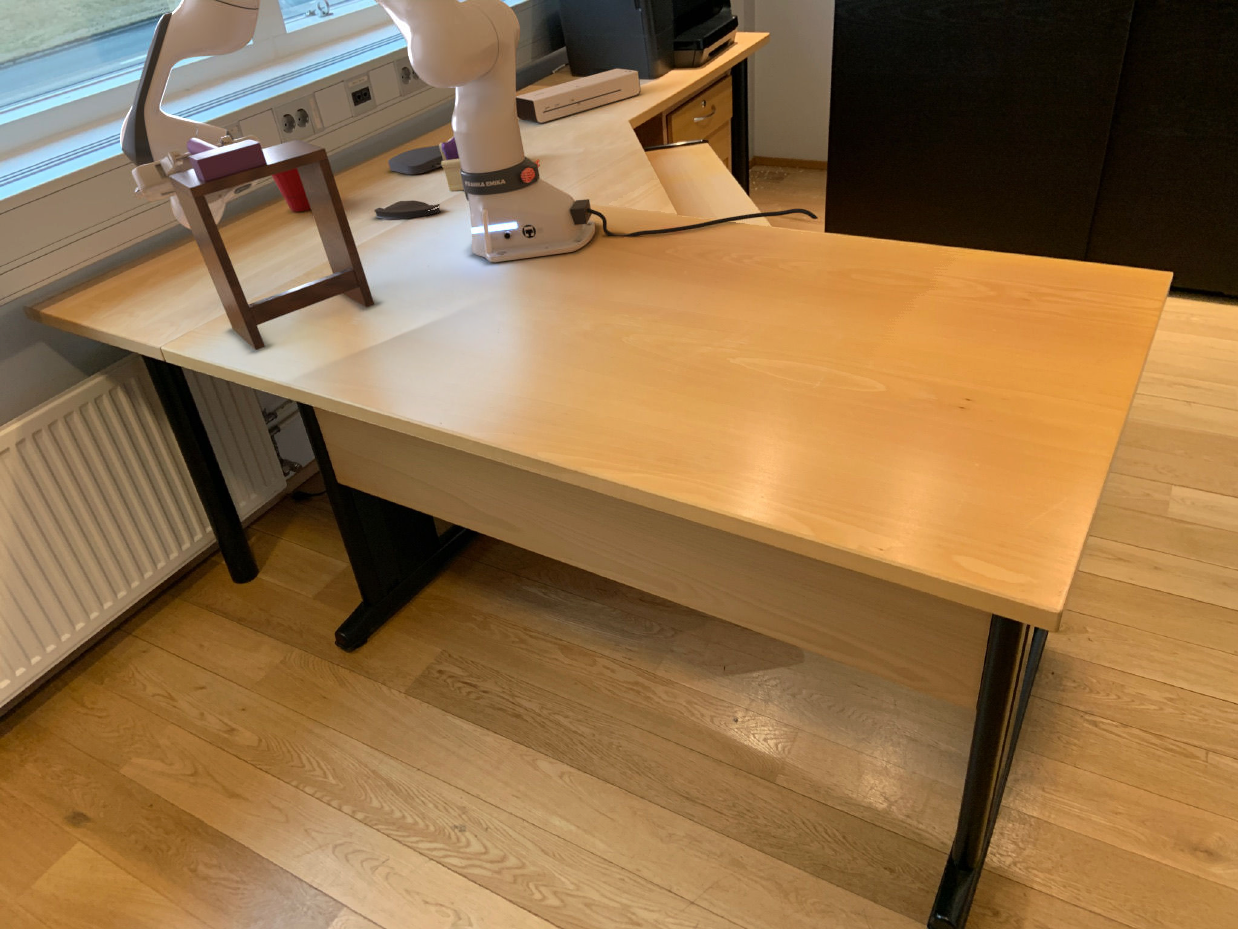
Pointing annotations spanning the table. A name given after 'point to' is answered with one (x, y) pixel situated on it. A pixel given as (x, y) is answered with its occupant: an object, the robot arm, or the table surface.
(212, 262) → the bench
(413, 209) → the black flat piece
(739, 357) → the table surface
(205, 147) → the toy hammer
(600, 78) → the laminator
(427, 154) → the media streaming box
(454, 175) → the toy sofa
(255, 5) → the robot arm
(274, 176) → the plastic cup
